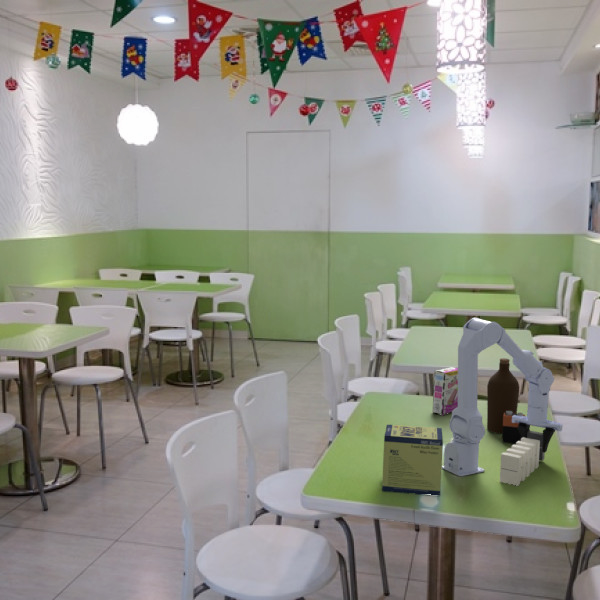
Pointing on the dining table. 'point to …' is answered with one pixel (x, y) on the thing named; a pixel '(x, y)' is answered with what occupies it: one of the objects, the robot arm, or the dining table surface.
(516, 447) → the domino
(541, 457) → the domino
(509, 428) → the battery
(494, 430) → the olive oil
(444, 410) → the candy bar box
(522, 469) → the domino
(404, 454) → the protein box
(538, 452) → the domino
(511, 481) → the domino
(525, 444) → the domino
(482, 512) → the dining table surface
